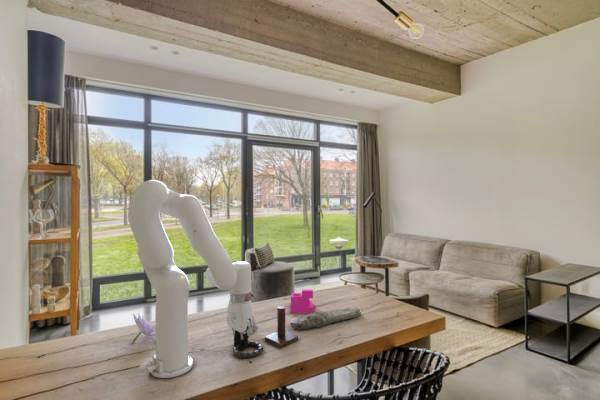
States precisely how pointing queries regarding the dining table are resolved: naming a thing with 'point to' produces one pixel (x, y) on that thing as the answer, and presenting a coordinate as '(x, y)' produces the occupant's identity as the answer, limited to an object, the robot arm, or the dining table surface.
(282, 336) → the peg stand
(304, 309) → the bracket
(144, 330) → the water lily
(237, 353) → the hoop
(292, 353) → the dining table surface
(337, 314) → the long grey stone
